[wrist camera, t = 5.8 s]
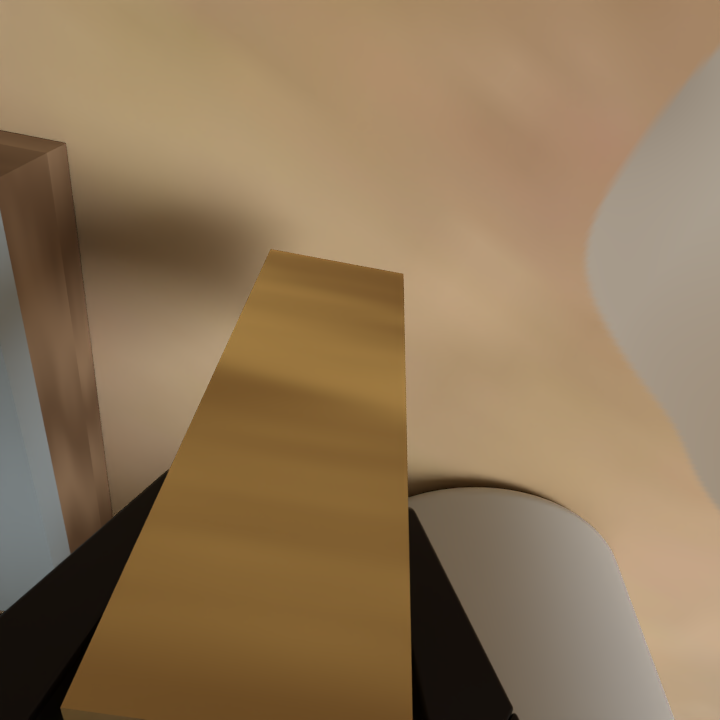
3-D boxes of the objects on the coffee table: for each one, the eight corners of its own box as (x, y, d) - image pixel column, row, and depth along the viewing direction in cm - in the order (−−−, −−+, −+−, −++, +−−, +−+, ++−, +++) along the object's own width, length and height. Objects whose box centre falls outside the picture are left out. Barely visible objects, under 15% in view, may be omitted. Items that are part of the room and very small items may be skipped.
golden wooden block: (377, 378, 15) (354, 857, 7) (260, 358, 15) (94, 825, 7) (403, 273, 13) (413, 756, 5) (270, 248, 13) (59, 707, 5)
